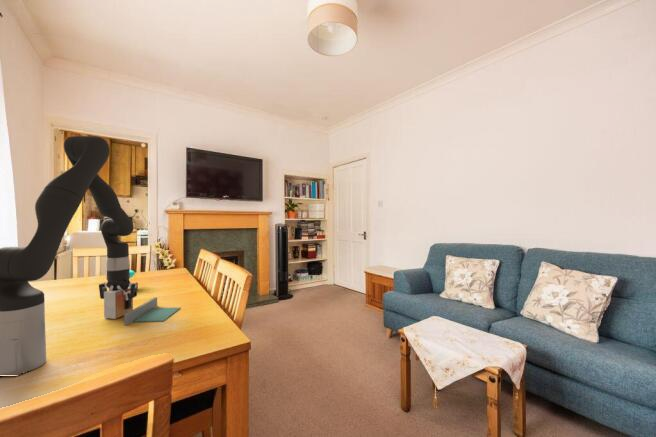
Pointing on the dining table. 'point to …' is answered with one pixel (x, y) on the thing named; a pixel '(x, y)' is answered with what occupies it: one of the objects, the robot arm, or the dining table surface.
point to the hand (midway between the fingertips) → (119, 308)
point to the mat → (157, 315)
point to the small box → (115, 304)
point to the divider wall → (140, 311)
